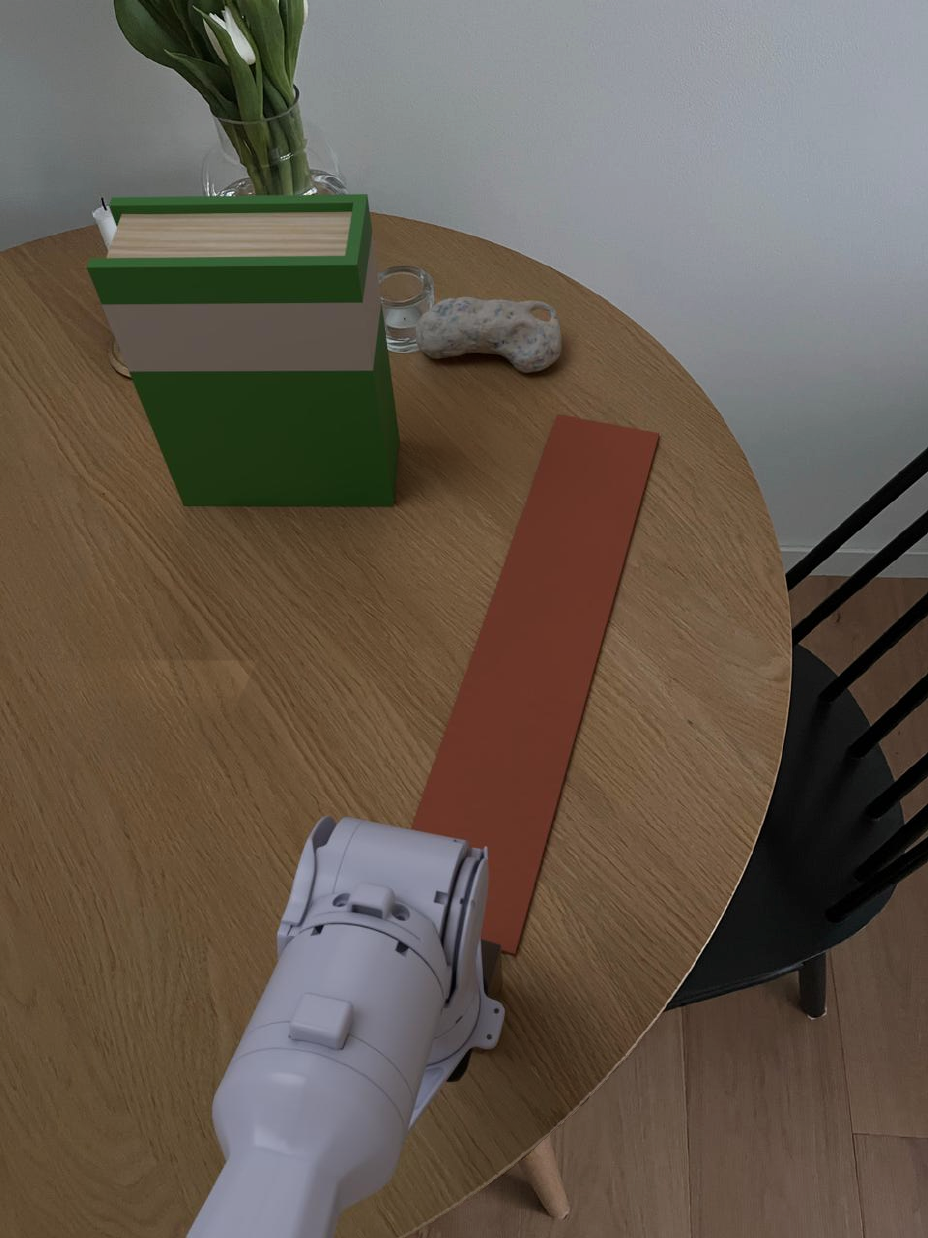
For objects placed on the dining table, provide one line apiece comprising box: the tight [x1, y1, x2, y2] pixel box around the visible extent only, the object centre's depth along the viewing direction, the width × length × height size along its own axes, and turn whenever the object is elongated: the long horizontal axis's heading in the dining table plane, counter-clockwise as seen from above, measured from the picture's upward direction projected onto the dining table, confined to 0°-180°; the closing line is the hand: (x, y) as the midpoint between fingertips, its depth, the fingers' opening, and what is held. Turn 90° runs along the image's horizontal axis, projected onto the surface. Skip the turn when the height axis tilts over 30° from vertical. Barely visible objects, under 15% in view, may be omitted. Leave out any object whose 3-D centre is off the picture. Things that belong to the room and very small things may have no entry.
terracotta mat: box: [410, 413, 660, 956], centre depth 79 cm, size 46×9×1 cm, turn 163°
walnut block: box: [472, 939, 503, 1055], centre depth 62 cm, size 4×4×8 cm
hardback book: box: [86, 193, 401, 507], centre depth 80 cm, size 18×7×24 cm, turn 88°
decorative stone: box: [414, 296, 563, 374], centre depth 95 cm, size 13×7×5 cm, turn 89°
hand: (432, 1044), depth 57 cm, fingers closed
